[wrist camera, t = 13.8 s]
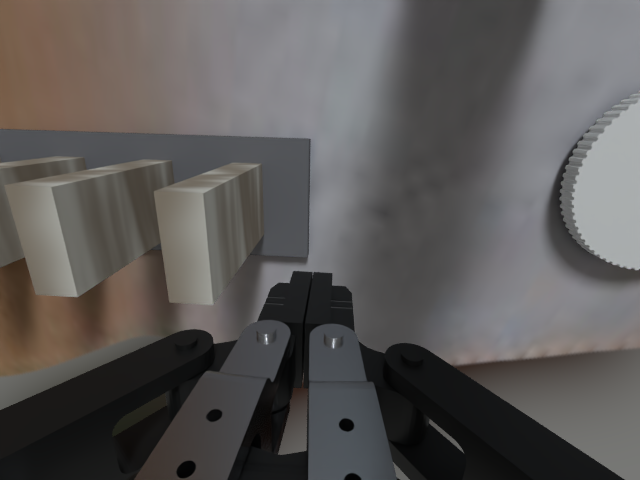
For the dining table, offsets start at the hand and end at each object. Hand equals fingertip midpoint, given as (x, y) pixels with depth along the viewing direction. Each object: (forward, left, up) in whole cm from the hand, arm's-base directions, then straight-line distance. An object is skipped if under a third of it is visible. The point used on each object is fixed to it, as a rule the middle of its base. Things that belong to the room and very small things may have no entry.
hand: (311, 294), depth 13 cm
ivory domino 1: (+7, 0, -16) cm, 17 cm away
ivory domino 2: (+14, 0, -16) cm, 21 cm away
